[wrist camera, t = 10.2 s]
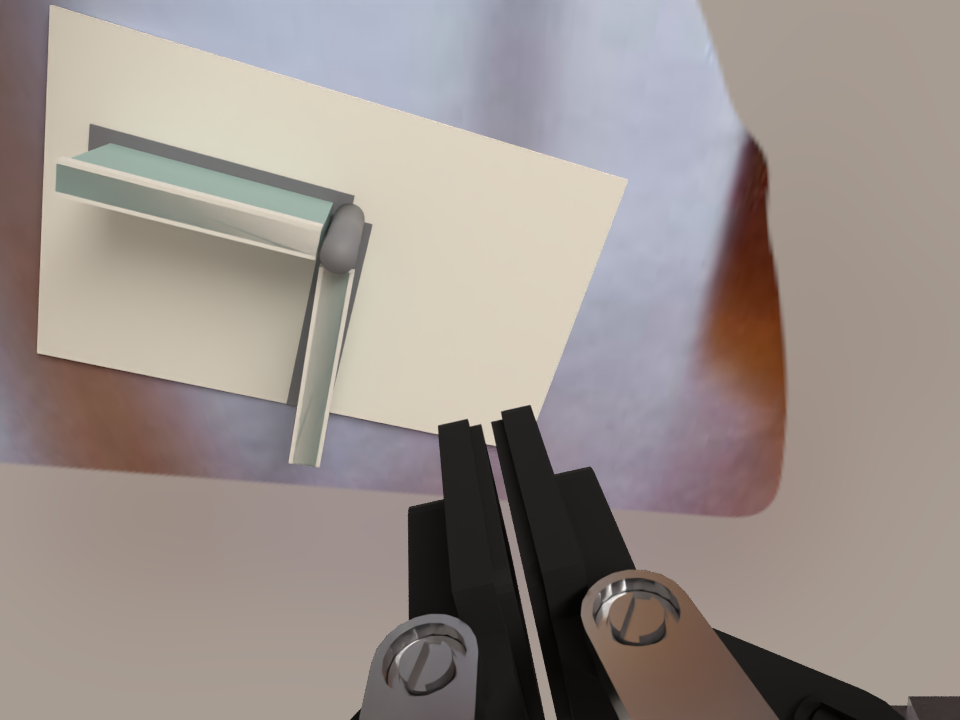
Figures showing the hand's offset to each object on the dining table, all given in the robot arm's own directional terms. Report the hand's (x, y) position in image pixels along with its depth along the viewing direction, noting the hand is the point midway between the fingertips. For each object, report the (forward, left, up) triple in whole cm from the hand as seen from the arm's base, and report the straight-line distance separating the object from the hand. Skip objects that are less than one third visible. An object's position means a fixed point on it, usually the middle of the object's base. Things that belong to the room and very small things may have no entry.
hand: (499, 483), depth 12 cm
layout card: (+6, -4, -27) cm, 28 cm away
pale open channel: (+9, -4, -26) cm, 28 cm away
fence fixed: (+3, -10, -27) cm, 29 cm away
